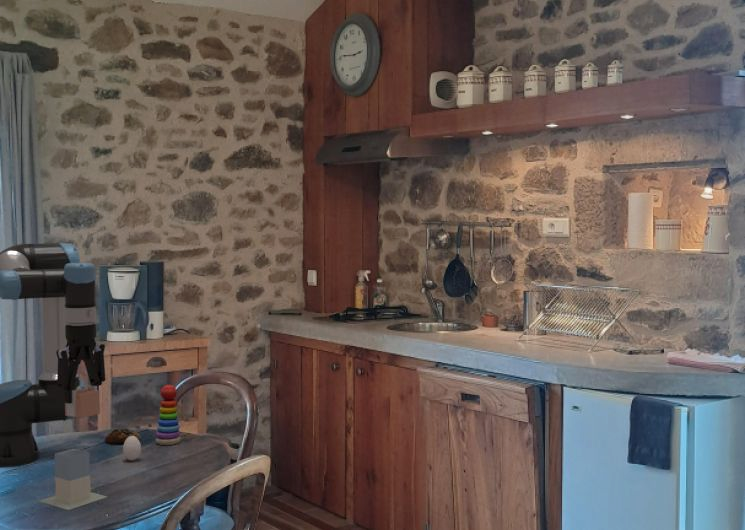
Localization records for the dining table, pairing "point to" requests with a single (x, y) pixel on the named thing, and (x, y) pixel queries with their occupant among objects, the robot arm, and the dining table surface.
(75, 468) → the block
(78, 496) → the block
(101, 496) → the plate
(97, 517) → the dining table surface
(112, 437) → the bread roll
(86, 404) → the block
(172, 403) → the stacking toy
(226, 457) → the dining table surface
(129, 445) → the egg
